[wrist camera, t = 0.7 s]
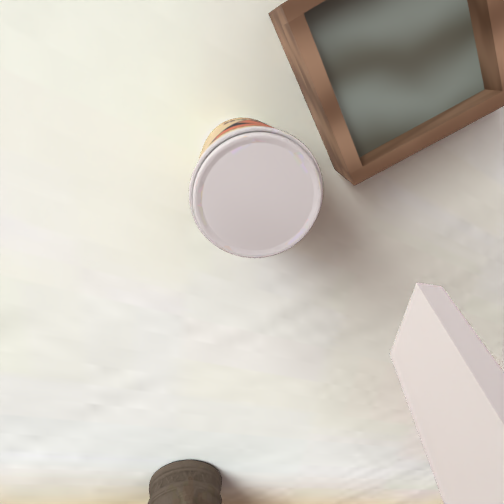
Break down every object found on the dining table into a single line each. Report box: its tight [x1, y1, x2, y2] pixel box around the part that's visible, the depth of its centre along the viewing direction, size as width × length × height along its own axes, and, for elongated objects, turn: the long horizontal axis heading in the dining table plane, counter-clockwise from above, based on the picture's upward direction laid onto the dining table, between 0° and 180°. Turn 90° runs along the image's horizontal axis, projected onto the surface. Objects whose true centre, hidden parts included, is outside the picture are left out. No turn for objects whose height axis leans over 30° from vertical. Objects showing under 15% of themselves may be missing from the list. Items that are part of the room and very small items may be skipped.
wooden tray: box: [268, 0, 504, 185], centre depth 31 cm, size 15×15×6 cm
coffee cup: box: [189, 118, 323, 258], centre depth 31 cm, size 9×9×12 cm
